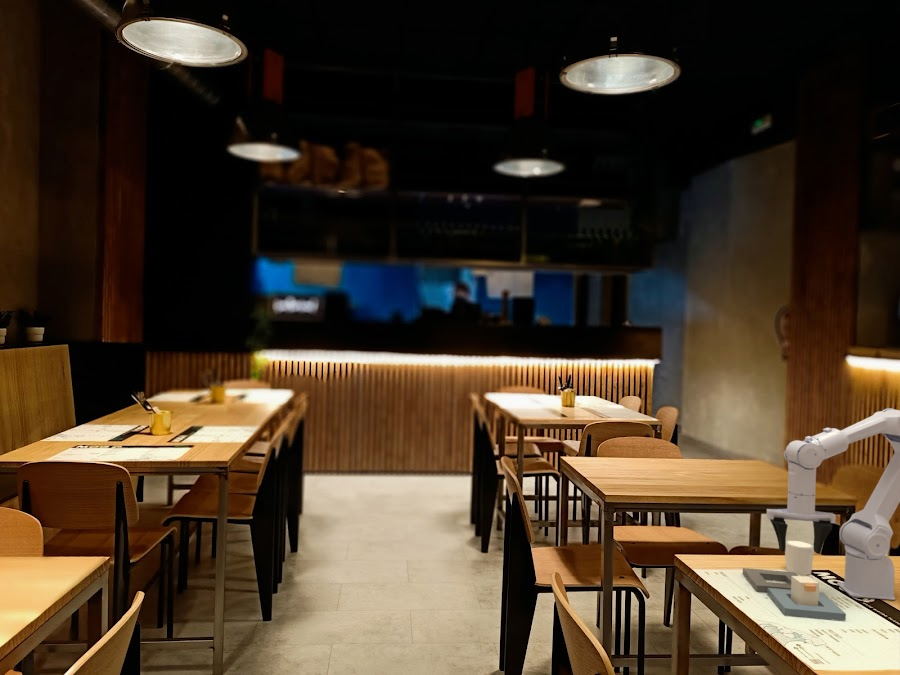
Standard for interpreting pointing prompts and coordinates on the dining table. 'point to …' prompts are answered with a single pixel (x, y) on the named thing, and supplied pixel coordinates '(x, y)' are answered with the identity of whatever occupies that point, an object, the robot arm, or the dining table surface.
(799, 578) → the plug
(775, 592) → the socket
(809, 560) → the cream tapered cup
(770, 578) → the socket
